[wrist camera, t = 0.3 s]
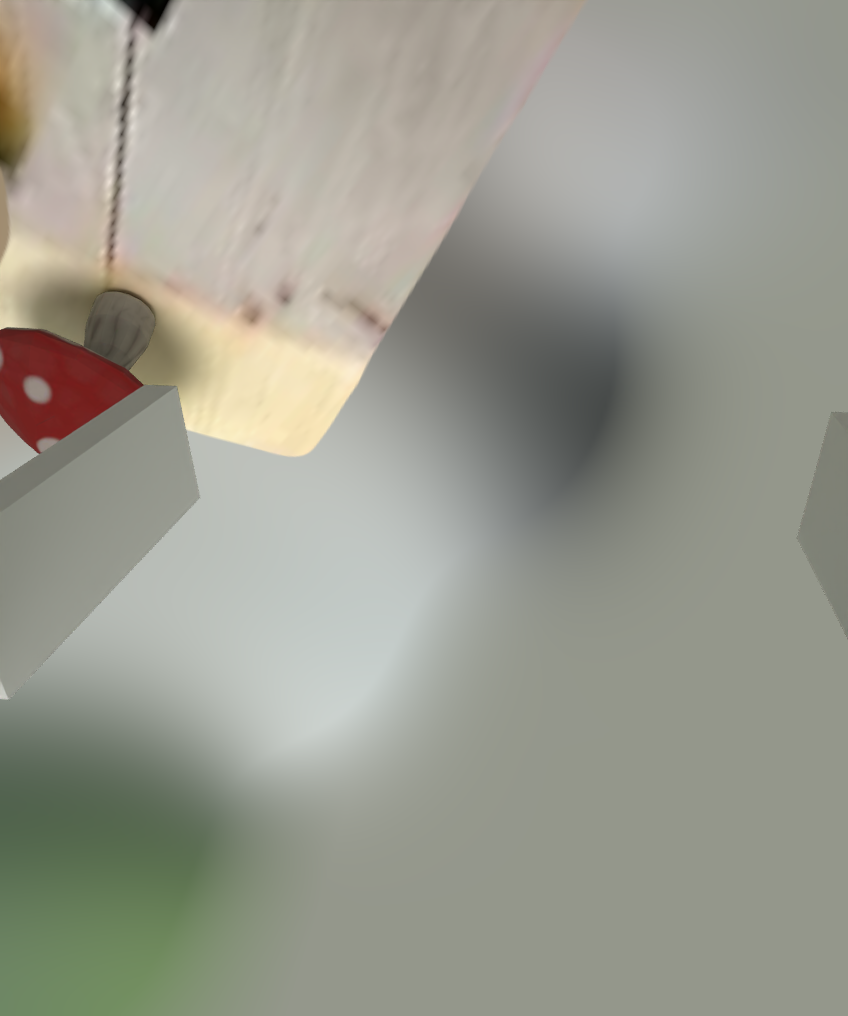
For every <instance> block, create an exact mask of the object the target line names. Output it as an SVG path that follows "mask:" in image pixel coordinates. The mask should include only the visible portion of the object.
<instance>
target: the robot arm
mask: <svg viewBox="0 0 848 1016" xmlns="http://www.w3.org/2000/svg"><path fill="white" fill-rule="evenodd" d="M199 498H200V495H199V490H198V485H197V481H196V476H195V471H194V466H193V461H192V456H191V452H190V447H189V442H188V437H187V432H186V428H185V423H184V418H183V413H182V408H181V404H180V399H179V394H178V389H177V386H161V385H144V386H142V387H141V388H139V389H137V390H136V391H134V392H133V393H131V394H130V395H128V396H127V397H125V398H124V399H122V400H121V401H119V402H118V403H116V404H115V405H113V406H112V407H110V408H109V409H107V410H106V411H104V412H103V413H101V414H100V415H98V416H97V417H95V418H93V419H92V420H90V421H89V422H87V423H86V424H84V425H83V426H81V427H80V428H78V429H77V430H75V431H74V432H72V433H71V434H69V435H68V436H66V437H65V438H63V439H62V440H60V441H59V442H57V443H56V444H54V445H53V446H51V447H49V448H48V449H46V450H45V451H43V452H42V453H40V454H39V455H38V456H36V457H34V458H33V459H31V460H30V461H28V462H27V463H25V464H24V465H22V466H21V467H19V468H18V469H16V470H15V471H13V472H12V473H10V474H9V475H7V476H6V477H4V478H2V479H1V480H0V699H6V700H9V699H10V698H11V697H12V696H13V695H14V694H15V693H16V692H17V691H18V690H19V688H20V687H21V686H22V685H23V684H24V683H25V682H26V681H27V680H28V679H29V678H30V677H31V676H32V675H33V674H34V673H35V672H36V671H37V669H38V668H39V667H40V666H41V665H42V664H43V663H44V662H45V661H46V660H47V659H48V658H49V657H50V656H51V655H52V653H54V652H55V650H56V649H57V648H58V647H59V646H60V645H61V644H62V643H63V642H64V641H65V640H66V639H67V638H68V637H69V636H70V635H71V634H72V632H73V631H74V630H75V629H76V628H77V627H78V626H79V625H80V624H81V623H82V622H83V621H84V620H85V619H86V618H87V617H88V616H89V614H90V613H91V612H92V611H93V610H94V609H95V608H96V607H97V606H98V605H99V604H100V603H101V602H102V601H103V600H104V599H105V597H106V596H107V595H108V594H109V593H110V592H111V591H112V590H113V589H114V588H115V587H116V586H117V585H118V584H119V583H120V582H121V581H122V580H123V578H124V577H125V576H126V575H127V574H128V573H129V572H130V571H131V570H132V569H133V568H134V567H135V566H136V565H137V564H138V563H139V562H140V561H141V560H142V558H143V557H144V556H145V555H146V554H147V553H148V552H149V551H150V550H151V549H152V548H153V547H154V546H155V545H156V544H157V543H158V542H159V540H160V539H161V538H162V537H163V536H164V535H165V534H166V533H167V532H168V531H169V530H170V529H171V528H172V527H173V526H174V525H175V524H176V522H177V521H178V520H179V519H180V518H181V517H182V516H183V515H184V514H185V513H186V512H187V511H188V510H189V509H190V508H191V506H192V505H194V503H195V502H196V501H197V500H198V499H199ZM797 539H798V542H799V543H800V546H801V548H802V550H803V551H804V553H805V555H806V557H807V559H808V561H809V563H810V565H811V567H812V569H813V571H814V573H815V575H816V577H817V579H818V581H819V583H820V585H821V587H822V589H823V591H824V593H825V595H826V597H827V599H828V601H829V603H830V605H831V607H832V609H833V611H834V613H835V615H836V617H837V619H838V621H839V623H840V625H841V627H842V629H843V631H844V633H845V635H846V637H847V639H848V413H843V412H831V414H830V418H829V422H828V425H827V429H826V433H825V436H824V440H823V444H822V447H821V451H820V455H819V459H818V463H817V466H816V470H815V473H814V477H813V481H812V484H811V488H810V492H809V496H808V499H807V503H806V506H805V510H804V514H803V518H802V521H801V525H800V529H799V532H798V536H797Z"/></svg>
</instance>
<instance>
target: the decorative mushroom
mask: <svg viewBox="0 0 848 1016" xmlns="http://www.w3.org/2000/svg"><path fill="white" fill-rule="evenodd" d="M154 327H155V317H154V315H153V314H152V312H151V310H150V309H149V307H148V306H146V305H145V304H144V303H143V302H142V301H141V300H139V299H137V298H135V297H133V296H131V295H129V294H125V293H121V292H105V293H103V294H100V295H98V296H97V298H96V300H95V301H94V304H93V306H92V309H91V312H90V315H89V318H88V321H87V324H86V330H85V341H84V346H82V345H80V344H77V343H75V342H73V341H70V340H68V339H66V338H63V337H61V336H59V335H56V334H54V333H52V332H49V331H47V330H43V329H29V328H10V327H7V328H4V329H1V330H0V415H1V416H2V418H3V419H4V420H5V422H6V423H7V424H8V425H9V426H10V427H11V428H12V429H13V430H14V431H15V432H16V433H17V435H18V436H20V438H21V439H22V440H24V441H25V442H26V443H27V444H28V445H29V446H30V447H32V448H33V449H34V450H35V451H36V452H37V453H39V454H40V453H42V452H43V451H45V450H46V449H48V448H49V447H51V446H53V445H54V444H56V443H57V442H59V441H60V440H62V439H63V438H65V437H66V436H68V435H69V434H71V433H72V432H74V431H75V430H77V429H78V428H80V427H81V426H83V425H84V424H86V423H87V422H89V421H90V420H92V419H93V418H95V417H97V416H98V415H100V414H101V413H103V412H104V411H106V410H107V409H109V408H110V407H112V406H113V405H115V404H116V403H118V402H119V401H121V400H122V399H124V398H125V397H127V396H128V395H130V394H131V393H133V392H134V391H136V390H137V389H139V388H141V387H142V386H144V385H143V384H142V383H141V382H140V381H139V380H138V379H137V378H136V377H135V376H134V375H132V374H131V373H130V372H129V369H130V368H131V367H132V366H133V365H134V363H135V362H136V361H137V360H138V358H139V357H140V356H141V355H142V353H143V352H144V351H145V349H146V348H147V347H148V344H149V341H150V338H151V336H152V333H153V330H154Z"/></svg>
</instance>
